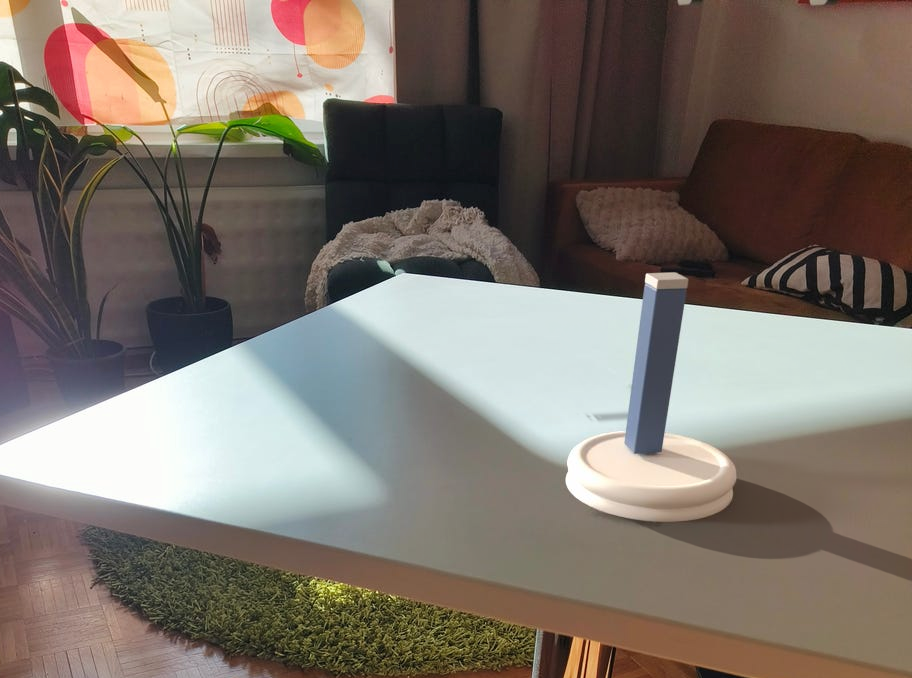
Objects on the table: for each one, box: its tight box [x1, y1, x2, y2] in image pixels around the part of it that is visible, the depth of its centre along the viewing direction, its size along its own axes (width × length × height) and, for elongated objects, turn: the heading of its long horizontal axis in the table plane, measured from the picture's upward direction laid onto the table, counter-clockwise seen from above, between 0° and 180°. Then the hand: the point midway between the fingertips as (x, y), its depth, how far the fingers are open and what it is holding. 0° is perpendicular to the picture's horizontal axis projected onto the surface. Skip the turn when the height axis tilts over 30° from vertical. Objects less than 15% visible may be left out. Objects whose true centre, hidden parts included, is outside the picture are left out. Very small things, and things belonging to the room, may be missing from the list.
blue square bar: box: [624, 271, 689, 454], centre depth 52 cm, size 2×2×10 cm
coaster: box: [565, 430, 738, 523], centre depth 54 cm, size 10×10×4 cm
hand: (757, 5), depth 53 cm, fingers open, 8 cm apart
